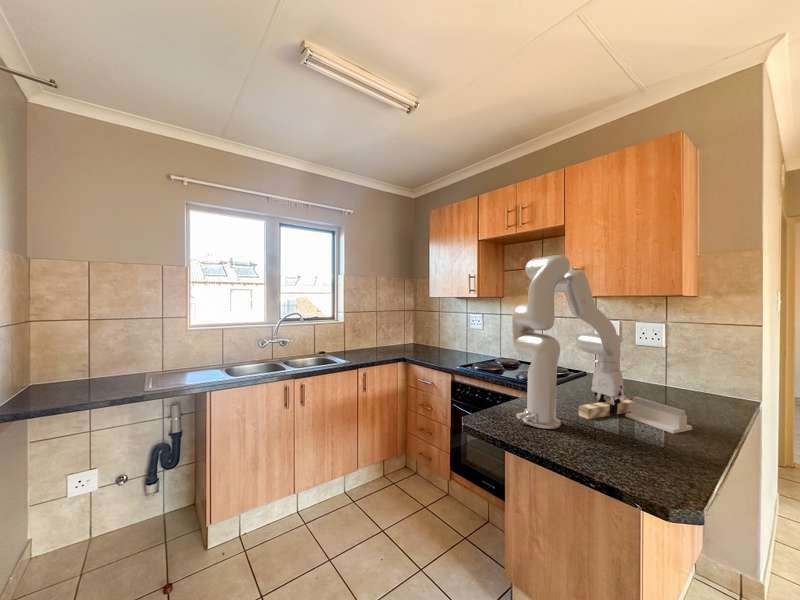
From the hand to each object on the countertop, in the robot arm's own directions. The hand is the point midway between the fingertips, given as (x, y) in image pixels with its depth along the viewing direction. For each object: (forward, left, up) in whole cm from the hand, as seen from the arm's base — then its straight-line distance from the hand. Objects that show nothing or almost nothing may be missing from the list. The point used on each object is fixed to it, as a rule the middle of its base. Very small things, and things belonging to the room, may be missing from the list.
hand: (607, 411), depth 127 cm
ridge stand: (+8, -13, -1) cm, 15 cm away
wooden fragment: (+28, +19, -1) cm, 34 cm away
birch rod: (0, 0, -1) cm, 1 cm away
